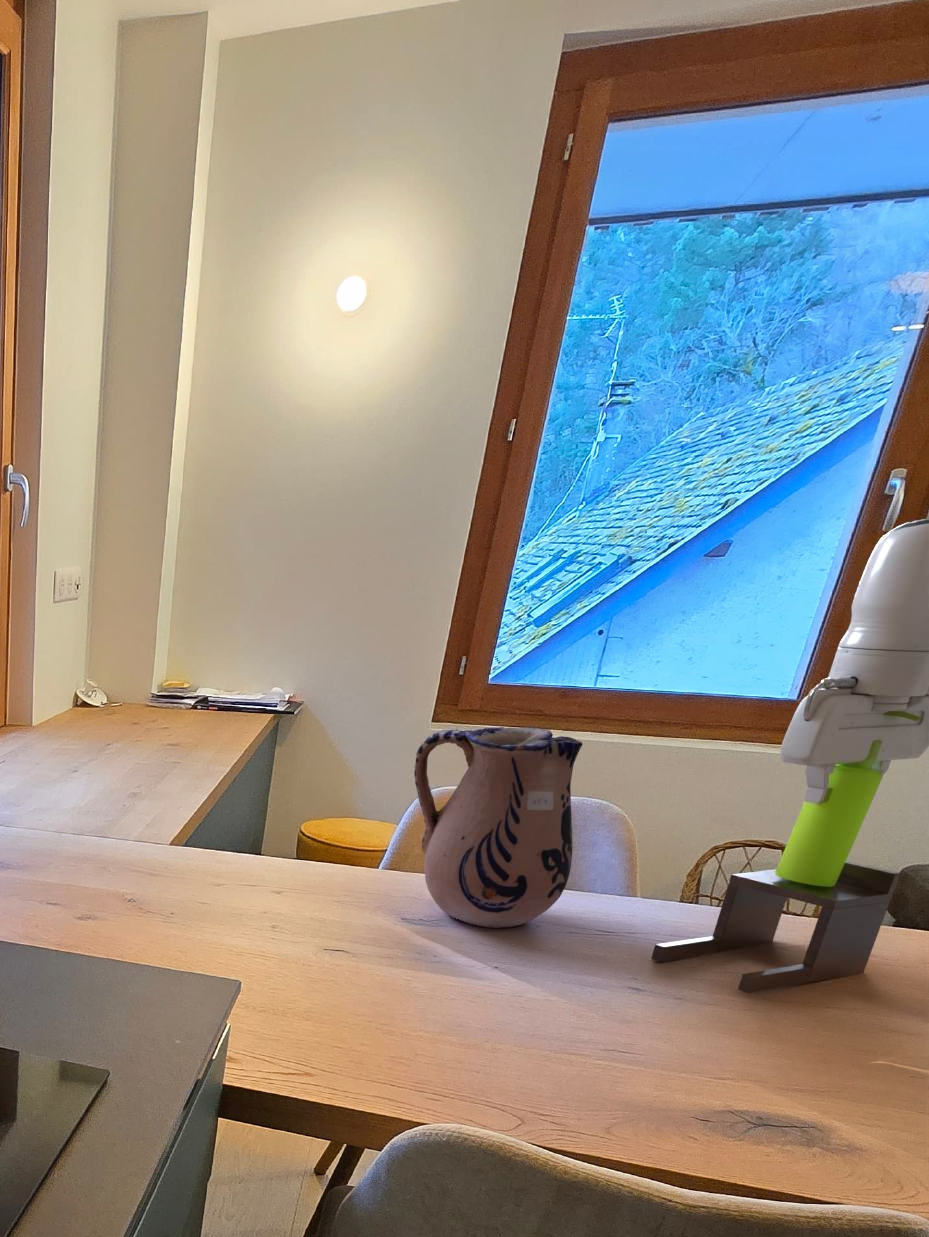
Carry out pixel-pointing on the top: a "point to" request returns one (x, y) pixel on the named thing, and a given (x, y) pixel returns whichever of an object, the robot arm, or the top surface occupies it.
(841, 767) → the soap dispenser
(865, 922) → the stand
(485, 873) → the ceramic pitcher
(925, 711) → the robot arm
